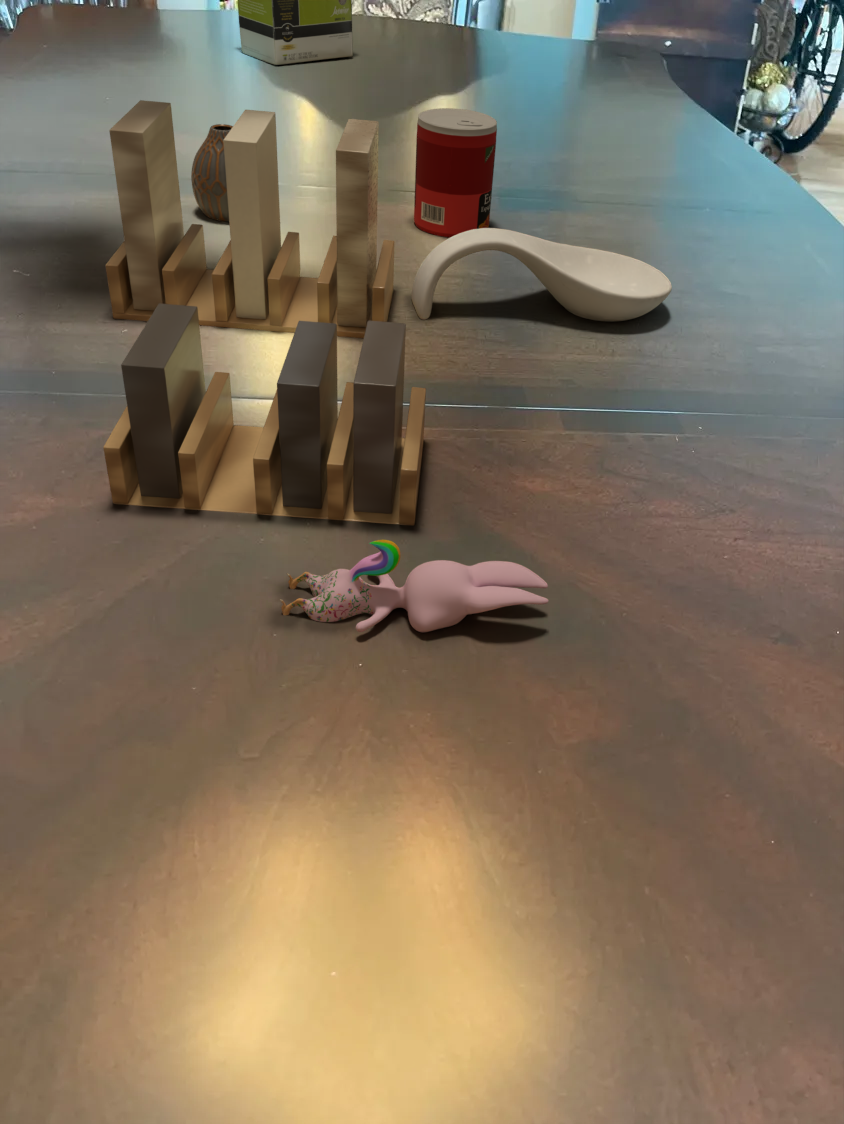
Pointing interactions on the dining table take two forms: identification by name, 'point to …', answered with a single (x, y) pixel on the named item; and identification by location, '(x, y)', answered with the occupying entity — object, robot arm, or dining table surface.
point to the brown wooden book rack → (268, 429)
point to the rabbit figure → (416, 590)
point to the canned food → (454, 170)
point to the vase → (211, 174)
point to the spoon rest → (555, 274)
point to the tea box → (295, 29)
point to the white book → (253, 208)
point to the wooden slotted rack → (180, 262)
